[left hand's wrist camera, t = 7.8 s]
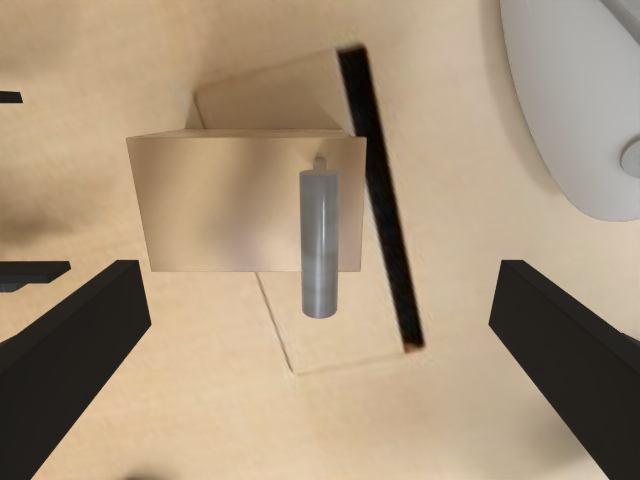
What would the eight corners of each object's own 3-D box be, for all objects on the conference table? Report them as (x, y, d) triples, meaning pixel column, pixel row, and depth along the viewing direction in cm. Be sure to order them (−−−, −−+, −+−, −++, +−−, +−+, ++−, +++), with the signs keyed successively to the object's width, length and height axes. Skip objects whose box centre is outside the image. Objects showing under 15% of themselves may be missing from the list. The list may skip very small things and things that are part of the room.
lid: (365, 136, 22) (389, 151, 15) (359, 266, 26) (376, 336, 18) (132, 136, 22) (31, 151, 15) (156, 266, 26) (85, 336, 18)
